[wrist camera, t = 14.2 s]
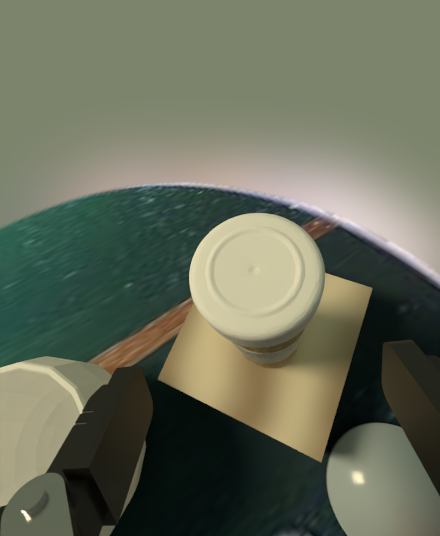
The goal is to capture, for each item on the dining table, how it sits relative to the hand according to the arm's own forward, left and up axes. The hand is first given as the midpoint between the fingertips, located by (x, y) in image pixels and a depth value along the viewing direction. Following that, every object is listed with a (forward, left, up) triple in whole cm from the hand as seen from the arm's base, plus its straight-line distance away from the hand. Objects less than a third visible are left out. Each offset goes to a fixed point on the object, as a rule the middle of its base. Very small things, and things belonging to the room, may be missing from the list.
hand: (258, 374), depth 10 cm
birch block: (-1, +3, -16) cm, 16 cm away
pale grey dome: (+10, -3, -16) cm, 19 cm away
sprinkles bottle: (-1, +3, -12) cm, 12 cm away
